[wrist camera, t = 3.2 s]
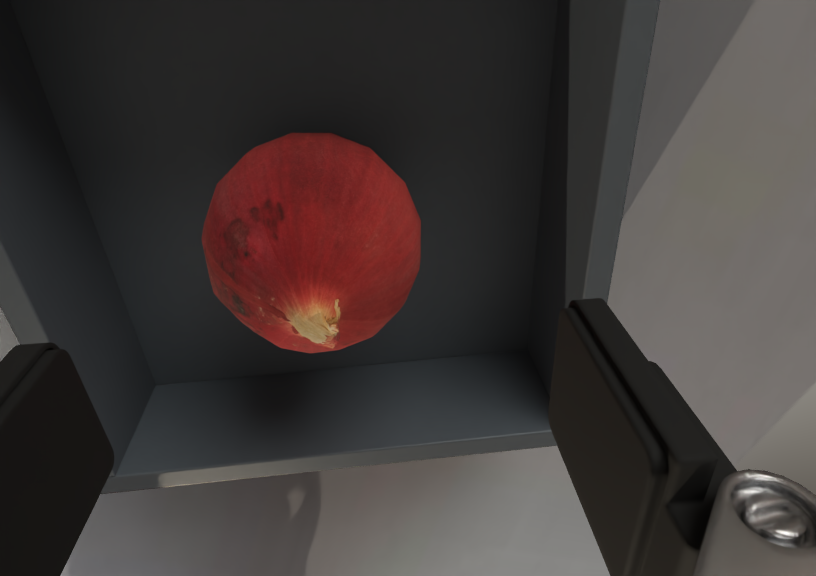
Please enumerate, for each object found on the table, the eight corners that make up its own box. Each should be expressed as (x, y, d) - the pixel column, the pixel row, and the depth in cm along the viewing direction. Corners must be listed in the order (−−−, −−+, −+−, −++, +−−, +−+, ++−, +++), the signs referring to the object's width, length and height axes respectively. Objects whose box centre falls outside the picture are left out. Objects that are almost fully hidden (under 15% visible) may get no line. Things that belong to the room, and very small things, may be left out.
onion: (246, 272, 19) (192, 443, 13) (215, 106, 16) (122, 214, 10) (409, 263, 20) (440, 424, 13) (407, 100, 17) (446, 199, 10)
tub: (-53, -100, 14) (-228, -122, 10) (592, -129, 15) (689, -162, 10) (144, 394, 22) (98, 495, 18) (541, 356, 23) (583, 443, 19)
